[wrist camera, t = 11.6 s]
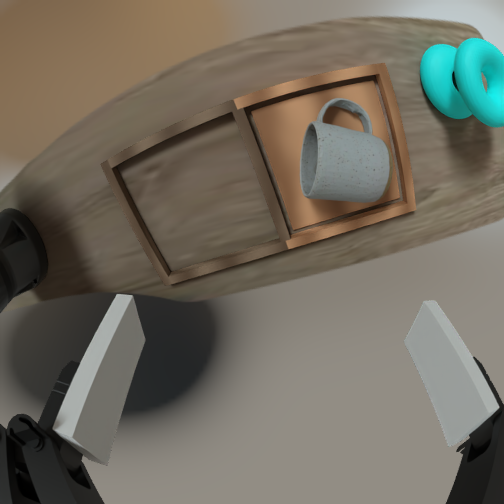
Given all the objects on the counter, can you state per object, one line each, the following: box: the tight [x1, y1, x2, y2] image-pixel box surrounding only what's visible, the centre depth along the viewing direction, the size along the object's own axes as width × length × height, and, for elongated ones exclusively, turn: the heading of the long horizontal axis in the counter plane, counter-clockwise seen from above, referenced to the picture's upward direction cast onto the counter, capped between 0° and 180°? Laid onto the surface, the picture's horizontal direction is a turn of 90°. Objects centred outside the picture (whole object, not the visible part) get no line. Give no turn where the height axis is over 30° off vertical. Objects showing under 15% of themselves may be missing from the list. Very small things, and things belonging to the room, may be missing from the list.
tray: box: [101, 63, 416, 286], centre depth 30 cm, size 35×18×1 cm, turn 110°
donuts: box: [420, 38, 504, 127], centre depth 18 cm, size 10×10×10 cm
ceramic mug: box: [300, 98, 393, 203], centre depth 24 cm, size 11×8×8 cm
